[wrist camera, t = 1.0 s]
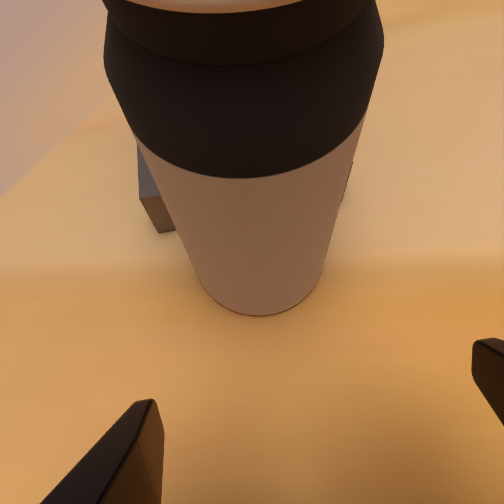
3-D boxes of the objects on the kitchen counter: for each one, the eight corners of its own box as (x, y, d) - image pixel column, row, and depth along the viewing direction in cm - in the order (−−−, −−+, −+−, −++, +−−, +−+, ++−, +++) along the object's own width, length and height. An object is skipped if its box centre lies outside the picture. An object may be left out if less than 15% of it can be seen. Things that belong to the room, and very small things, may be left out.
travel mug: (239, 343, 22) (141, 63, 6) (174, 242, 25) (-9, -126, 9) (349, 271, 23) (519, -109, 7) (274, 184, 26) (277, -214, 10)
